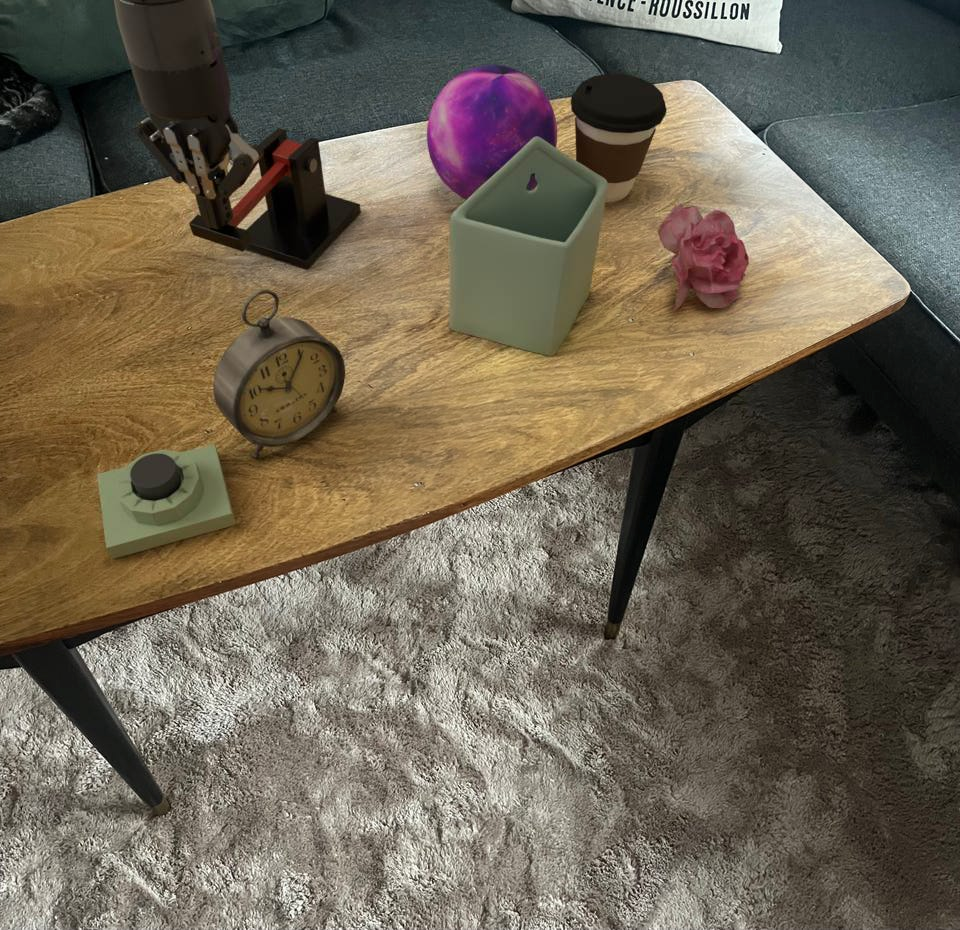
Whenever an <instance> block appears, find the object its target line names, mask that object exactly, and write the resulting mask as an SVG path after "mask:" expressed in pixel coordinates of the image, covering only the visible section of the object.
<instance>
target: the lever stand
mask: <svg viewBox="0 0 960 930" xmlns="http://www.w3.org/2000/svg"><path fill="white" fill-rule="evenodd" d="M285 140H289V139H288V134H287V130H286V129H283V128H281V127H277V128H276V129H275V130H274V131H273V132H272V133H271V134H269V135H268V136H267V137H266V138H265V139H263V140H262V141H260V143H259V144H258V145H259V146H260V147H261V148H262V149H263V151H264V155H263V157H262V158H261V160H260V161H259V163H258V169H259V173H260V179H261V178H262V177H263V176H264V175H265V174H266V173H267V172H268V171H269V169H270V168H271V167H272V166H273V165H274V161H273V157H272V153H273V152H274V151H275V150H276V149H277V148H278V147H279V146H280V145H281V144H282V143H283V142H284V141H285ZM301 144H302V145H301V146H300V147H299V148H298V149H297V150H296V151H294V152H293V153H292V154H291V155H290V156H289V157H288V158H289V165H290V171H291V177H288V176H285V175H284V176H283V177H282V178H281V179H280V180H279V181H278V182H277V184H276V185H275V186H274V187H273V188H272V189H271V190H270V191H269V192H268V193H267V194H266V195H265V197H264V198H265V203H266V210H265V211H264V212H263V213H262V214H261V215H260V216H259V217H258V218H257V219H256V220H254V222H253V223H251V224H250V225H249V226H248V227H247V228H246V229H245V230H248V232H249V235H250V239H251V244H250V245H249V246H248V247H247V248H246V249H245V251H249V252H251V253H253V254H258V255H260V256H263V257H267V258H269V259H272V260H275V261H279V262H282V263H285V264H288V265H291V266H294V267H298V268H299V269H303V270H306V271H308V270H309V269H310V268H311V266H312V265H313V264H314V263H315V262H316V261H317V260H318V259H319V258H320V257H321V256H322V255H323V254H324V253H325V252H326V250H327V249H329V247H330V246H331V245H332V244H333V243H334V242H335V241H336V240H337V239H338V238H339V237H340V236H341V234H342V233H343V232H344V231H345V230H346V229H347V228H348V227H349V226H350V225H351V224H352V223H353V222H354V220H355V219H357V217H358V216H359V215H360V214H361V204H360V203H358V202H354V201H352V200H347V199H345V198H342V197H338V196H335V195H332V194H328V193H326V187H325V181H324V173H323V165H322V157H321V149H320V142H319V139H318V138H316V137H311V136H310V137H309V138H308V139H306V140H305V141H304V142H303V143H301Z"/></svg>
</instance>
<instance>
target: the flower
mask: <svg viewBox="0 0 960 930" xmlns="http://www.w3.org/2000/svg"><path fill="white" fill-rule="evenodd" d="M657 234H658V237H659V241H660V242H661V244H662V247H663V248H664V249H666V250H667V251H669V252H671V253H672V254H673V256H671V258H670V259H669V260H668V261H667V262H664V263H661V264H660V263H659V264H658V266H660V265H666V264H670V265H671V267H672V270H673V276H674V278H675V281H676V282H677V283H678V289H677V290H676V292H675V295H676V296H675V297H676V299H675V302H674V305H673V310H674V311H675V312H676V311H677V310H678V309H679V308H680V306H682V304H683V303H684V302H685V300H686V298H687V297H688V295H689V293H690V292H691V290H693V292H694V294H695V295H696V296H697V298H698V299H699V300H700V301H701V302H702V303H704V304H705V305H706V306H707V307H708V308H712V309H724V308H727V307H729V306H730V304H731V303H733V302H735V301H736V300H738V299H739V297H740V292H739V290H738V289H739V287H740V285H741V282H742V281H743V280H744V278H745V277H746V271H747V270H748V269H747V268H748V266H749V265H750V263H749V261H750V258H749V255H748V253H747V249H746V246H745V243H744V241H743V240H742V239H740V238H738V235H737V233H736V227H735V223H734V221H733V219H731V216H729V215H728V214H727V212H725V211H722V210H719V209H714V210H712V211H710V212H709V213H707V214H706V215H705V216H704V217H703V215H702V214H701V212H700V210H699V208H698V206H695V205H690V206H683V203H680V204H677V205H674V206H673V208H672V209H671V211H670V212H669V213H668V214H667V216H665V218H664V219H663V221H662V222H661V224H660V225H659V227H658V229H657ZM656 266H657V264H653V265H650V267H656Z"/></svg>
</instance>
